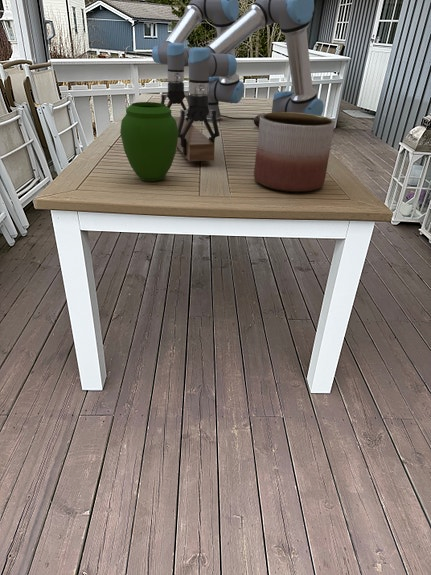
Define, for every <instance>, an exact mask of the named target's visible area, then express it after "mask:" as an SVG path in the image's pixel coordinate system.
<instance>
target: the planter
mask: <svg viewBox="0 0 431 575" xmlns="http://www.w3.org/2000/svg"><path fill="white" fill-rule="evenodd" d="M261 114H262V113H261ZM335 124H336V122H335V120H334V119H331V118H330V117H326V116H323V115H321V116H319V115H313V114H306V113H295V112H272V111H271V112H266V113H265V114H262V115H261V116H260V122H259V127H258V131H257V132H258V134H257V142H256V149H255V150H256V151H255V158H254V170H253V178H254V180H255V181H256V182H257V183H258V184H259V185H262V186H263V187H265V188H268V189H271V190H274V191H279V192H285V193H307V192H312V191H316V190H318V189H320V188H321V187H323V186H324V184H325V180H326V175H327V171H328V164H329V158H330V153H331V152H330V151H331V147H332V141H333V135H334V130H335Z"/></svg>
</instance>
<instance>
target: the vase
mask: <svg viewBox="0 0 431 575" xmlns="http://www.w3.org/2000/svg"><path fill="white" fill-rule="evenodd" d="M125 113H126V114H125V115H124V117H122V119H121V122H120V123H121V124H120V130H119V133H120V138H121V142H122V147H123V150H124V154H125V155H126V158H127V160H128V163H129V165H130V167H131V168H132V170H133V172H134V173H135V175H136V176H137V177H138V178H139V179H141V180H143V181H145V182H159V181H161V180H163V179H164V178H165V176H166V175H167V174H168V173H169V170H170V169H171V167H172V165H173V162H174V159H175V157H176V156H175V155H176V153H177V148H178V147H177V141H178V134H179V133H178V128H177V123H176V120H175V119H174V118H173V117H174V116H173V115H172V109H171V108H170V109H169V108H168V107H167V104H165V103H164V104H162V103H161V102H155V101H138V102H132V103H131V104H130V105H128V107H127V108H125Z"/></svg>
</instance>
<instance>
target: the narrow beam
mask: <svg viewBox="0 0 431 575" xmlns="http://www.w3.org/2000/svg"><path fill="white" fill-rule="evenodd" d="M173 118H174V119H175V120H176V123H177V127H178V124H179V120H180V116H173ZM187 122H188V121H187V120H186V118H185V119H184V123H183V127H182V130H181V133H182V131H183V129H184V128H185V126H186V124H187ZM185 138H186V156H184V157H185V158H186V159H187V160H188V161H189V162H210V161H212V162H213V161H215V146H216V145H215V144H214V143H213V142H212V141H210V140H209V137H207V136H206V135H205V134H204V133H203V132H201V130H199V129H198V128H197V127H195V126H194V125H193V124H192V125H191V127H190V128H189V130H188V132H187V134H186V136H185ZM177 148H178V149H179V151H180V152H181V153H182V154H183V147H181V145H180V138H179V137H178V141H177Z"/></svg>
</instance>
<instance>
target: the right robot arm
mask: <svg viewBox="0 0 431 575" xmlns="http://www.w3.org/2000/svg"><path fill="white" fill-rule="evenodd" d="M314 12H315V0H255V1H254V2H253V3H251V4H250V5H249V6H248V8H247V11H246V12H245V13H243V14H242V15H241V16H240V17H238V18H237V20H235V22H234V23H233V24H232V25H231V26H230V27H228V28H227V29H226V30H225V31H224V32H222V33H221V34H220V35H219V36H218V37H217V36H216V37H215V38H214V39H213V40H211V41H210V42H209V43H208V44H207V45H205V46H204V47H200V46H199V47H195V46H192V47H190V48H191V49H190V51H189V58H188V65H189V66H188V94H189V106H188V107H187V110H183V109H180V110H179V113H180V116H179V117H180V120H179V124H178V127H177V128H178V133H179V134H178V137H179V138H180V145H181V147H183V153H182V155H183V156H184V157H185V156H186V138H185V136H186V134H187V132H188V130H189V128H190V127H191V125H193V124H194V122H203V123H204V126H205V128H206V129H207V132H208V134H209V135H210V136H209V137H208V139H209V140H210V141H212V142H213V143H214V144H215V142H216V139H217V137H220V131H219V126H218V121H216V111H215V110H209V109H208V96H207V94H208V93H209V77H228V76H233V75H234V74H235V72H236V73H237V68H238V67H237V66H238V61H237V59H236V56H235V57H234V56H233V55H230V54H229V53H230V52H231V51H232V50H233V49H236V48H237V47H238V46H240V45H241V44H242V43H243V42H244V41H245V40H247V39H248V38H249V37H250V36H251V35H252V34H254V33H255V32H256V31H257V30H262V29H264V28H265V27H266V26H268V25H272V24H279V30H280V33H281V34H282V35H283V36H284V38H285V45H286V51H287V58H288V65H289V71H290V72H289V73H290V78H291V85H292V90H283V91H276V92H274V94H273V98H272V106H271V113H272V112H295V113H306V114H313V115H319V116H323V113H324V109H325V108H324V106H325V105H324V102H323V100H322V99H320V98H318V92H317V89H315V88H314V87H313V80H312V78H313V77H312V70H311V61H310V50H309V43H308V33H307V29H308V28H309V26H310V24H311V23H310V21H311V19H312V18H313V16H314V15H313V13H314ZM187 113H188V114H189V116H190V117H189V119H188V122H187V124H186V126H185V128H184V129H183V131H182V133H181V130H182V127H183V123H184V119H186V117H187V115H186V114H187ZM209 113H210V116H211V119H212V121H211V122H212V127H213V128H212V127H211V124H210V123H209V121H208V120H207V118H206V117H207V115H208V114H209Z"/></svg>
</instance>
